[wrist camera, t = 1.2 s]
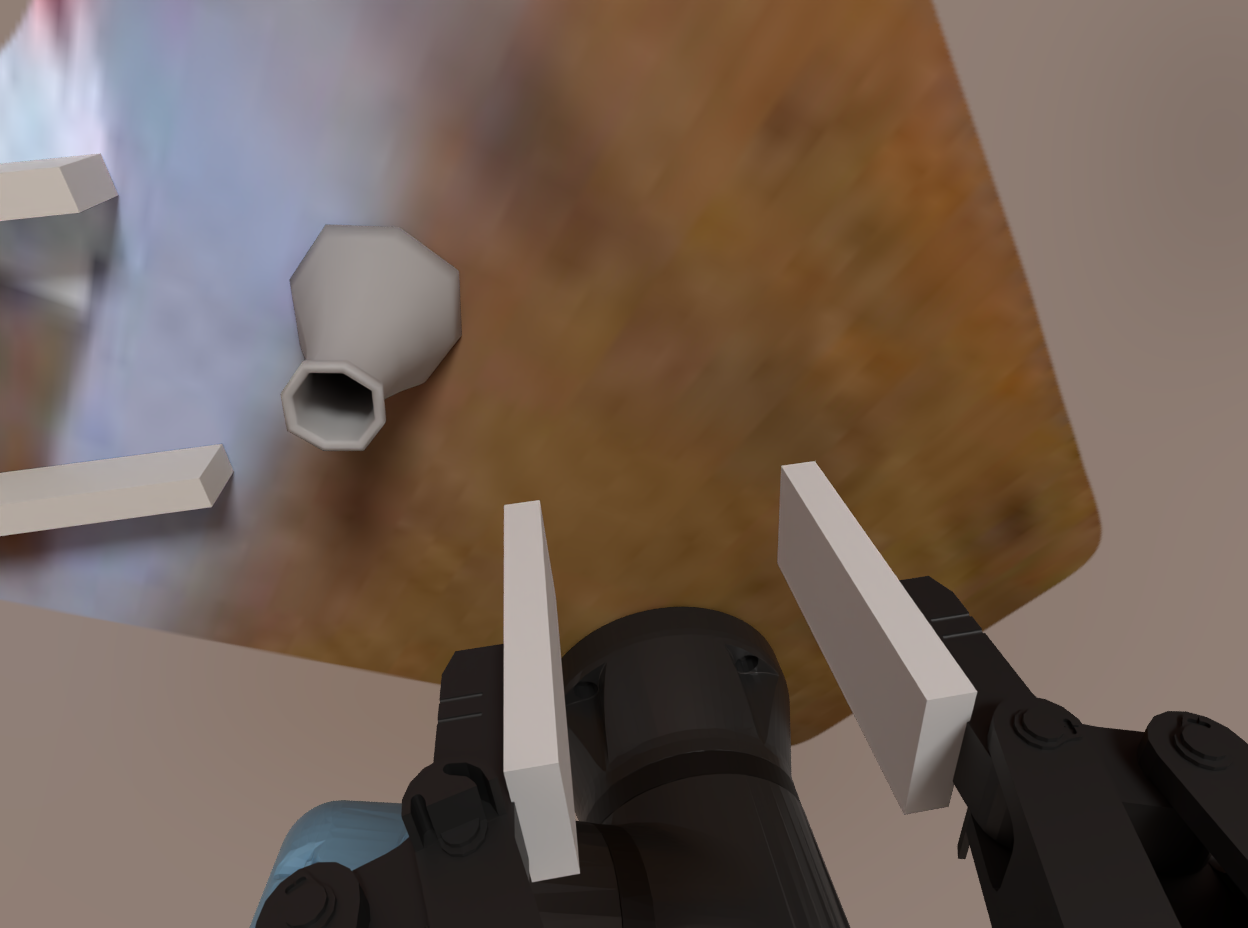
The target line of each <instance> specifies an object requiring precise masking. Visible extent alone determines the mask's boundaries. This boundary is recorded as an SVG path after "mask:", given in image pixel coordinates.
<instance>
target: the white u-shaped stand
mask: <svg viewBox="0 0 1248 928" xmlns="http://www.w3.org/2000/svg"><path fill="white" fill-rule="evenodd" d="M116 196H118V194H117V191H116V189H115V187H114V184H113V182H112V179H111V177H110V175H109V172H108V170H107V167H106V165H105V163H104V160H103V158H102V156H101V153H100V154H90V155H80V156H70V157H60V158H50V159H40V160H30V161H21V162H11V163H1V164H0V221H5V220H15V219H24V218H34V217H43V216H52V215H62V214H71V213H80V212H82V211H84V210H87V209H89V208H91V207H93V206H96V205H98V204H100V203H102V202H105V201H107V200H109V199H111V198H113V197H116ZM233 472H234V471H233V469H232V466H231V464H230V462H229V459H228V457H227V454H226V452H225V450H224V447H223V445H222V444H218V445H210V446H202V447H195V448H187V449H179V450H172V451H164V452H156V453H149V454H141V455H134V456H126V457H118V458H111V459H103V460H95V461H88V462H80V463H73V464H65V465H57V466H50V467H42V468H34V469H27V470H19V471H12V472H4V473H0V536H5V535H12V534H19V533H27V532H34V531H41V530H48V529H56V528H63V527H70V526H78V525H85V524H92V523H99V522H107V521H114V520H121V519H129V518H136V517H143V516H150V515H158V514H165V513H172V512H179V511H187V510H194V509H201V508H209V507H212V506H213V505H214V503H215V501H216V500H217V498H218V496H219V495H220V493H221V492H222V490H223V488H224V487H225V485H226V483H227V482H228V480H229V478H230V477H231V475H232V473H233Z"/></svg>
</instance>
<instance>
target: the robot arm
mask: <svg viewBox="0 0 1248 928" xmlns="http://www.w3.org/2000/svg"><path fill="white" fill-rule="evenodd" d="M777 563H778V565H779V567H780V569H781V571H782V573H783V575H784V577H785V579H786V581H787V583H788V585H789V587H790V589H791V591H792V593H793V595H794V597H795V599H796V601H797V603H798V605H799V607H800V609H801V611H802V613H803V615H804V617H805V619H806V621H807V623H808V625H809V627H810V629H811V631H812V633H813V635H814V637H815V639H816V641H817V643H818V645H819V647H820V649H821V651H822V653H823V655H824V656H825V658H826V660H827V662H828V664H829V666H830V668H831V670H832V672H833V674H834V676H835V678H836V680H837V682H838V684H839V686H840V688H841V690H842V692H843V694H844V696H845V698H846V700H847V702H848V704H849V706H850V708H851V710H852V712H853V714H854V716H855V718H856V720H857V722H858V724H859V726H860V728H861V730H862V732H863V734H864V736H865V738H866V740H867V742H868V744H869V746H870V748H871V750H872V752H873V754H874V756H875V758H876V760H877V762H878V764H879V766H880V768H881V770H882V772H883V774H884V776H885V778H886V780H887V782H888V783H889V785H890V788H891V790H892V791H893V794H894V795H895V798H896V800H897V801H898V804H899V806H900V807H901V809H902V811H903V813H904V815H905V814H911V813H917V812H922V811H928V810H933V809H939V808H944V807H948V806H949V803H950V799H951V795H952V791H953V787H954V785H955V786H956V788H957V790H958V792H959V793H960V795H961V797H962V798H963V800H964V802H965V803H966V805H967V806H968V809H967V812H966V816H965V820H964V823H963V827H962V831H961V834H960V838H959V842H958V858H959V859H965V858H966V855H967V852H968V848H969V845H970V848H971V852H972V856H973V859H974V863H975V866H976V870H977V874H978V878H979V881H980V884H981V888H982V892H983V896H984V900H985V903H986V907H987V910H988V914H989V918H990V921H991V925H992V928H1248V744H1247V743H1246V742H1245V741H1244V740H1243V739H1241V738H1240V737H1239V736H1237V735H1236V734H1235V733H1234V732H1232V731H1231V730H1230V729H1229V728H1227V727H1225V726H1223V725H1221V724H1219V723H1217V722H1215V721H1213V720H1211V719H1209V718H1207V717H1204V716H1200V715H1197V714H1193V713H1189V712H1179V711H1167V712H1165V713H1162V714H1159V715H1156V716H1154V717H1153V719H1152V720H1151V722H1150V723H1149V724H1148V726H1147V729H1146V730H1145V732H1139V731H1129V730H1121V729H1112V728H1103V727H1095V726H1090V725H1085V724H1082V723H1081V722H1080V720H1079V719H1078V718H1077V717H1075V716H1074V715H1073V714H1071V713H1070V712H1069V711H1067V710H1066V709H1065V708H1064V707H1062V706H1059V705H1057V704H1055V703H1053V702H1050V701H1048V700H1046V699H1041V698H1036V696H1034V694H1033V693H1032V692H1031V691H1030V690H1029V688H1028V687H1027V686H1026V685H1025V683H1024V682H1023V681H1022V680H1021V678H1020V677H1019V676H1018V674H1017V673H1016V672H1015V671H1014V670H1013V668H1012V667H1011V666H1010V664H1009V663H1008V662H1007V661H1006V659H1005V658H1004V657H1003V656H1002V654H1001V653H1000V652H999V650H998V649H997V648H996V646H995V645H994V644H993V643H992V641H991V640H990V639H989V638H988V636H987V635H986V634H985V633H982V629H981V627H980V626H979V625H978V624H977V622H976V621H975V620H974V618H973V617H972V616H971V617H970V616H969V612H968V611H967V609H966V608H965V607H964V606H963V604H962V603H961V602H960V601H959V599H958V598H957V597H956V595H955V594H954V593H953V592H952V591H950V590H949V589H947V588H946V587H944V586H943V585H941V584H940V583H938V582H937V581H935V580H934V579H932V578H931V577H929V576H925V577H918V578H912V579H906V580H898V578H897V577H896V576H895V574H894V573H893V571H892V570H891V569H890V567H889V566H888V564H887V563H886V561H885V560H884V559H883V557H882V556H881V554H880V553H879V552H878V550H877V549H876V547H875V546H874V544H873V543H872V542H871V540H870V539H869V537H868V536H867V535H866V533H865V532H864V530H863V529H862V527H861V526H860V525H859V523H858V522H857V520H856V519H855V517H854V516H853V515H852V513H851V512H850V510H849V509H848V508H847V506H846V505H845V503H844V502H843V500H842V499H841V498H840V496H839V495H838V493H837V492H836V491H835V489H834V488H833V486H832V485H831V483H830V482H829V481H828V479H827V478H826V476H825V475H824V474H823V472H822V471H821V469H820V468H819V466H818V465H817V464H816V462H815V461H813V462H806V463H799V464H791V465H784V466H781V487H780V512H779V537H778V562H777ZM575 813H576V816H577V818H578V820H579V821H575ZM250 928H850V925H849V923H848V920H847V918H846V915H845V913H844V911H843V908H842V905H841V903H840V900H839V898H838V895H837V893H836V890H835V888H834V885H833V882H832V880H831V877H830V875H829V873H828V870H827V867H826V865H825V862H824V860H823V857H822V855H821V852H820V850H819V848H818V845H817V842H816V840H815V837H814V835H813V832H812V829H811V827H810V824H809V822H808V820H807V817H806V814H805V812H804V810H803V807H802V805H801V802H800V800H799V797H798V794H797V792H796V789H795V786H794V783H793V780H792V777H791V742H790V701H789V693H788V688H787V684H786V680H785V677H784V675H783V673H782V670H781V668H780V665H779V663H778V661H777V658H776V656H775V654H774V652H773V650H772V648H771V646H770V645H769V643H768V642H767V641H766V639H765V638H764V637H763V636H762V635H761V634H760V633H759V632H758V631H757V630H756V629H754V628H753V627H752V626H750V625H749V624H747V623H745V622H744V621H742V620H740V619H738V618H736V617H733V616H731V615H728V614H725V613H722V612H719V611H715V610H710V609H704V608H696V607H668V608H659V609H653V610H647V611H643V612H639V613H635V614H632V615H629V616H626V617H623V618H620V619H618V620H615V621H613V622H611V623H609V624H607V625H605V626H603V627H601V628H599V629H597V630H596V631H594V632H592V633H591V634H589V635H588V636H586V637H585V638H583V639H582V640H581V641H579V642H578V643H577V644H576V645H575V646H574V647H572V648H571V649H570V650H569V651H568V652H567V653H566V654H565V656H564V657H563V658H562V659H561V651H560V640H559V628H558V617H557V606H556V595H555V589H554V583H553V577H552V571H551V565H550V559H549V553H548V547H547V541H546V535H545V529H544V523H543V517H542V511H541V505H540V500H537V501H530V502H523V503H516V504H509V505H504V644H500V645H493V646H487V647H480V648H474V649H468V650H461V651H455V653H454V655H453V657H452V658H451V660H450V662H449V663H448V665H447V667H446V669H445V670H444V672H443V674H442V680H441V690H440V704H439V711H438V724H437V731H436V741H435V752H434V762H433V763H432V764H431V765H429V766H427V767H425V768H424V769H423V770H422V771H421V772H420V773H419V774H418V775H417V776H416V777H415V778H414V779H413V780H412V781H411V782H410V784H409V786H408V788H407V790H406V792H405V795H404V797H403V799H402V803H384V802H383V803H382V802H366V801H346V800H341V801H331V802H327V803H324V804H321V805H319V806H317V807H315V808H313V809H311V810H310V811H308V812H307V813H305V814H304V815H303V816H302V817H301V818H300V819H299V820H297V822H296V823H295V824H294V825H293V826H292V828H291V829H290V831H289V832H288V834H287V835H286V838H285V839H284V842H283V844H282V846H281V849H280V852H279V854H278V856H277V859H276V861H275V864H274V867H273V869H272V872H271V874H270V877H269V879H268V882H267V884H266V887H265V889H264V892H263V895H262V897H261V900H260V902H259V905H258V907H257V910H256V912H255V915H254V917H253V920H252V923H251V925H250Z"/></svg>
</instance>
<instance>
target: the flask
mask: <svg viewBox="0 0 1248 928" xmlns="http://www.w3.org/2000/svg"><path fill="white" fill-rule="evenodd" d="M290 285H291V292H292V298H293V304H294V310H295V316H296V323H297V329H298V335H299V341H300V346H301V350H302V352H303V354H304V356H305V358H306V360H304V361H303V362H302V363H301V365H300V366H299V368H298V369H297V370H296V372H295V373H294V375H293V376H292V378H291V379H290V380H289V382H288V383H287V385H286V386H285V388H284V389H283V391H282V392H281V400H282V405H283V411H284V416H285V422H286V427H287V431H289V432H291V433H292V434H294V435H296V436H298V437H300V438H301V439H303V440H305V441H307V442H309V443H310V444H312V445H314V446H316V447H317V448H319V449H321V450H323V451H364V450H365V449H366V447H367V446H368V445H369V444H370V442H371V441H372V440H373V438H374V437H375V436H376V434H377V433H378V432H379V431H380V429H381V428H382V427H383V425H384V424H385V422H386V412H385V402H384V399H386V398H388V397H390V396H392V395H394V394H396V393H399V392H401V391H403V390H406V389H409V388H412V387H415V386H418V385H420V384H422V383H424V382H426V381H427V379H428V378H429V377H430V375H431V374H432V373H433V372H434V370H435V369H436V368H437V366H438V365H439V364H440V362H441V361H442V360H443V359H444V357H445V356H446V355H447V353H448V352H449V351H450V350H451V348H452V347H453V346H454V344H455V343H456V342H457V341H458V339H459V338H460V337H461V335H462V329H461V306H460V283H459V271H458V270H457V269H456V268H454V267H453V266H452V265H450V264H449V263H448V262H446V261H445V260H443V259H442V258H441V257H439V256H438V255H437V254H435V253H434V252H433V251H431V250H430V249H428V248H427V247H426V246H424V245H423V244H422V243H420V242H419V241H418V240H416V239H415V238H413V237H412V236H411V235H409V234H408V233H407V232H405V231H404V230H403V229H401V228H400V227H379V226H352V225H325V226H324V228H323V229H322V231H321V232H320V234H319V236H318V237H317V239H316V240H315V242H314V243H313V245H312V246H311V248H310V249H309V251H308V252H307V254H306V255H305V257H304V258H303V260H302V261H301V263H300V264H299V266H298V268H297V269H296V271H295V272H294V274H293V275H292V277H291V278H290Z"/></svg>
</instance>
